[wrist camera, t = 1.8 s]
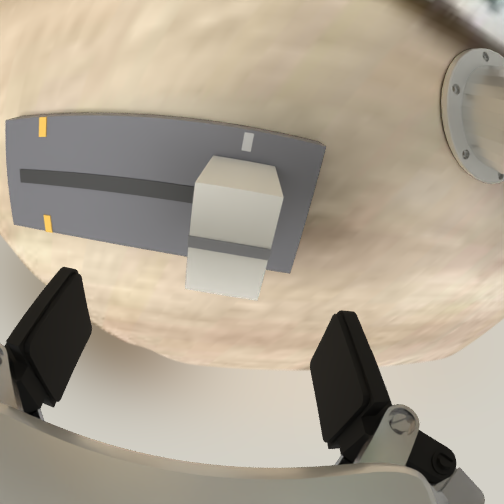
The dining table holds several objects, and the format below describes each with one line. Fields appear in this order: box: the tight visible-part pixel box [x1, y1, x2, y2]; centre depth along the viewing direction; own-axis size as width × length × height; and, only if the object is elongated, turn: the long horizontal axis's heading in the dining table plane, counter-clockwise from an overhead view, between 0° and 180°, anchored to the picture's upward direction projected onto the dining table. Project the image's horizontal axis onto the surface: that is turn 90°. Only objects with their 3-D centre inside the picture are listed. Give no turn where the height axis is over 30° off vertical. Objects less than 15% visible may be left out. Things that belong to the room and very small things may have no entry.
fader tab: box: [185, 156, 284, 301], centre depth 17 cm, size 4×6×6 cm
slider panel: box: [6, 113, 326, 273], centre depth 20 cm, size 26×10×2 cm, turn 79°
